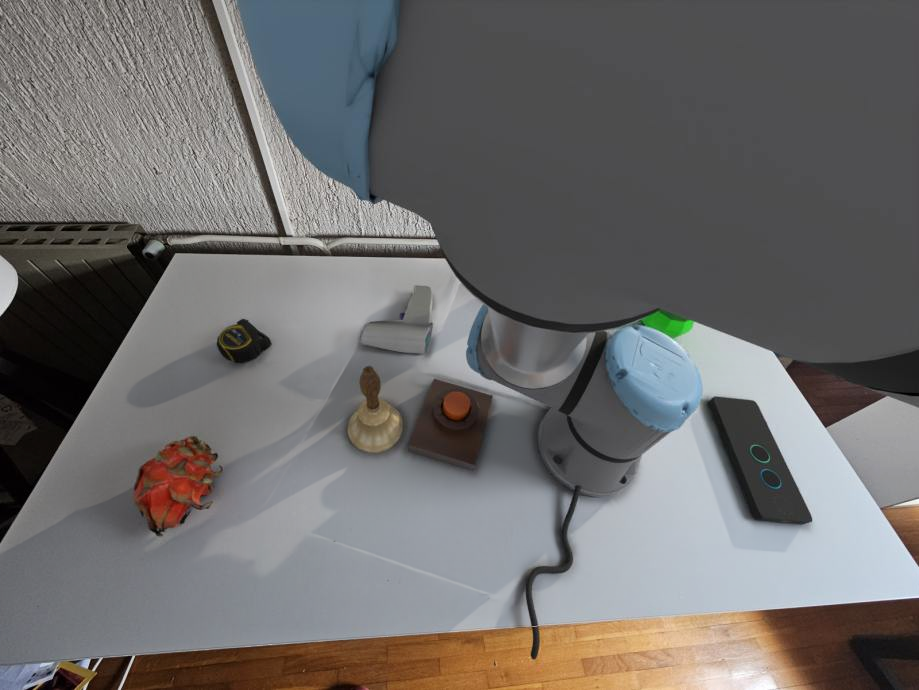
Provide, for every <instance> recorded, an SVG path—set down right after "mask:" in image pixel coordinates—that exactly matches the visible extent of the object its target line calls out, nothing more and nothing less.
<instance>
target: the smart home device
mask: <svg viewBox="0 0 919 690" xmlns="http://www.w3.org/2000/svg"><path fill="white" fill-rule="evenodd" d="M707 404H708V407H709V410H710V412H711V415H712V418H713V420H714V422H715V425H716V428H717V430H718V432H719V435H720V439H721V440H722V443H723V445H724V448H725V451H726V453H727V456H728V459H729V461H730V463H731V466H732V468H733V472H734V473H735V477H736V479H737V481H738V483H739V486H740V489H741V491H742V494H743V497H744V499H745V501H746V504H747V507H748V509H749V512H750V514H751V516H752V518H753V519H754V520H756V521H760V522H769V523H779V524H780V523H781V524H790V525H791V524H792V525H802V526H803V525H806V524H809V523H813V517H812V516H813V515H812V514H811V512H810V510H809V508H808V505H807V503H806V502H805V499H804V497H803V495H802V493H801V491H800V489H799V486H798V485H797V482H796V480H795V479H794V476H793V474H792V472H791V470H790V468H789V466H788V464H787V462H786V460H785V458H784V456H783V454H782V451H781V450H780V448H779V446H778V443H777V441H776V438H775V437H774V434H773V433H772V431H771V429H770V428H769V425H768V423H767V420H766V419H765V417H764V415H763V413H762V410H761V408H760V406H759V405H758V403H757V402H756V401H755V400H754V399H746V398H745V399H744V398H735V397H726V396H716V395H715V396H713V397H712V398H710V399H709V400H708V402H707Z"/></svg>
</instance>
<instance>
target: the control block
mask: <svg viewBox="0 0 919 690" xmlns="http://www.w3.org/2000/svg"><path fill="white" fill-rule="evenodd" d="M451 392H461V393H464V394H465V395H466V396H467V397H468V398H469V400H470V409H469V413H468V415H467V416H466V417H465V418H464V419H462V420H459V421H454V420H451V419H449V418H447V417H446V416H445V414H444V412H443V402H444V398H445V397H446V395H448V394H449V393H451ZM493 398H494V395H492V394H489V393H486V392H482V391H479V390H475V389H473V388H468V387H466V386H465V387H464V386H461V385H458V384H455V383H451V382H449V381H444V380H441V379H438V378H433V380H432V382H431V384H430V388H429V390H428V393H427V395H426V398H425V400H424V404H423V406H422V407H421V410H420V413H419V416H418V418H417V421H416V424H415V427H414V429H413V432H412V434H411V437H410V439H409V443H408V451H409V452H411V453H415V454H418V455H421V456H425V457H427V458H432V459H434V460H437V461H440V462H443V463H447V464H451V465H454V466H457V467H461V468H464V469H466V470H470V471H474V470H475V467H476V464H477V461H478V457H479V453H480V448H481V445H482V441H483V437H484V433H485V430H486V429H485V428H486V425H487V420H488V417H489V413H490V410H491V405H492V402H493Z"/></svg>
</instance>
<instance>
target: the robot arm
mask: <svg viewBox="0 0 919 690" xmlns="http://www.w3.org/2000/svg"><path fill="white" fill-rule="evenodd" d="M235 1H236V5H237V9H238V13H239V17H240V21H241V24H242V25H241V26H242V28H243V32H244V35H245V38H246V39H245V40H246V43H247V45H248V49H249V52H250V55H251V58H252V62H253V64H254V67H255V71H256V74H257V75H258V79H259V80H260V83H261V85H262V87H263V90H264V93H265V94H266V97H267V99H268V101H269V103H270V105H271V108H272V109H273V112H274V114H275V115H276V117H277V119H278V121H279V122H280V125H281V126H282V128H283V130H284V132H285V133H286V135H287V137H288V138H289V139H290V140H291V142H292V144H293V145H294V146H295V147H296V149H297V150H298V151H299V152H300V154H301V155H302V156H303V157H304V158H305V159H306V160H307V161H308V162H309V163H310V164H311V165H312V166H313V167H314V168H315V169H316V170H318V171H319V172H321V174H323V175H325V176H326V177H328V178H329V179H332V180H334V181H336V182H337V183H339V184H342V185H343V186H345V187H347V188H349V189H351V190H352V191H353V193H354V194H355V196H356V197H357V198H358V199H359V200H360V201H366V202H369V203H371V205H376V204H379V203H381V202H382V201H385V202H387V203H390V204H392V205H394V206H397V207H398V208H402V209H404V210H406V211H408V212H411V213H413V214H415V215H416V216H418V217H420V218H421V219H423V220H425V221H426V222H427V223H429V224H430V227H431V229H432V232H433V234H434V237H435V239H436V241H437V243H438V246H439V248H440V251H441V253H442V256H443V258H444V259H445V261H446V263H447V264H448V266H449V268H450V269H451V271H452V273H453V274H454V276H455V277H456V279H457V280H458V281H459V282H460V284H461V285H462V287H464V288H465V289H466V290H467V292H468V293H470V294H471V295H472V296H473V297H474V298H475V299H476V300H477V301H478V302H479V303H481V304H482V305H481V307H480V309H479V310H478V312H477V313H476V316H475V319H474V321H473V322H472V324H471V327H470V330H469V334H468V338H467V343H466V345H467V348H466V350H465V359H466V363H467V365H468V367H469V368H470V369H471V370H472V371H473V372H475V373H477V374H479V375H480V376H481V377H482V378H484V379H486V380H489V381H493V382H495V383H497V384H500V385H502V386H503V387H505V388H508V389H510V390H513V391H515V392H516V393H519V394H521V395H524V396H525V397H527V398H530V399H532V400H534V401H536V402H538V403H540V404H542V405H545V406H546V407H549V410H548V411H547V412H546V413H545V415H544V416H543V418H542V419H541V422H540V424H539V427H538V431H537V447H538V451H539V455H540V457H541V460H542V463H544V464H543V465H545V467H546V468H547V470H548V471H549V473H550V474H551V476H553V477H554V479H555V480H557V481H558V482H559V483H561V484H562V485H563V486H565V487H566V488H568V489H570V490H571V491H573V494H572V498H571V501H570V504H569V506H568V510H567V512H566V515H565V517H564V520H563V523H562V526H561V531H560V535H561V536H560V537H561V542H562V545H563V549H564V551H565V554H566V562H565V563H564V564H562V565H559V566H558V565H557V566H552V565H539V566H536V567H535V568H533V569H532V570H531V571H530V573H529V575H528V577H527V580H526V584H525V600H526V607H527V611H528V616H529V620H530V626H531V630H532V631H531V632H532V645H531V650H530V658H531V660H533V661H534V660H536V659H537V658H538V655H539V650H540V645H541V644H540V643H541V638H540V637H541V635H540V627H539V623H538V618H537V614H536V610H535V605H534V600H533V585H534V581H535V580H536V577H538V576H539V575H540V574H558V575H560V574H564V573H566V572H568V571H569V570H570V569H571V568H572V566H573V563H574V555H573V551H572V548H571V545H570V543H569V540H568V530H569V526H570V523H571V520H572V518H573V516H574V513H575V510H576V507H577V503H578V500H579V497H580V495H583V496H587V497H595V498H596V497H597V498H599V497H602V498H603V497H607V496H611V495H613V494H616V493H618V492H619V491H621V490H623V489H625V487H627V486H628V485H629V484H630V483H631V481H633V479H634V477H635V476H636V474H637V472H638V469H639V466H640V463H641V460H642V456H643V455H644V454H646V453H647V452H648V451H649V450H650V449H651V448H653V447H655V446H656V444H659V442H661V440H663V439H665V438H666V437H667V436H668V435H670V434H671V433H673V432H674V431H676V430H679V429H680V428H681V427H682V426H683V425H684V424H685V422H686V421H687V420H688V419H689V418H690V417H691V416H692V415H693V414H694V413H695V411H696V410H697V409H698V408H699V406H700V403H701V402H702V398H703V381H702V377H701V374H700V371H699V369H698V367H697V364H696V363H695V362H694V361H693V360H692V358H691V357H690V354H689V353H688V352H687V351H686V349H685V348H684V347H683V346H682V345H680V343H678V342H677V341H676V340H675V339H672V338H671V337H669V336H668V335H666V334H664V333H662V332H660V331H658V330H656V329H653V328H650V327H646V326H645V325H639V324H635V323H637V322H639V321H642V320H641V319H643V318H645V317H647V316H649V315H651V314H653V313H656V312H657V311H659V310H661V309H663V310H665V311H668V312H670V313H673V314H676V315H678V316H681V317H683V318H686V319H689V320H691V321H694V323H697V324H699V325H701V326H705V327H707V328H710V329H711V330H715V331H717V332H720V333H723V334H725V335H728V336H731V337H733V338H736V339H739V340H741V341H743V342H746V343H749V344H752V345H755V346H757V347H759V348H762V349H764V350H767V351H770V352H772V353H775V354H777V355H779V356H781V357H783V358H787V359H790V360H794V361H797V362H799V363H801V364H804V365H807V366H810V367H812V368H814V369H817V370H820V371H822V372H825V373H827V374H830V375H832V376H835V377H837V378H841V379H843V380H845V381H846V382H849V383H852V384H854V385H857V386H859V387H861V388H865V389H868V390H870V391H873V392H876V393H878V394H880V395H883V396H886V397H889V398H891V399H894V400H896V401H900V402H901V403H905V404H908V405H910V406H913V407H916V408H918V409H919V0H235ZM633 324H635V325H634V326H632V325H633ZM630 325H631V326H630ZM615 329H618V330H616V331H615V332H613V333H612V332H611V333H610V332H608V331H611V330H615ZM537 625H538V626H537ZM532 626H537V627H532Z"/></svg>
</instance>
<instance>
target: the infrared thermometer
mask: <svg viewBox="0 0 919 690" xmlns="http://www.w3.org/2000/svg"><path fill="white" fill-rule="evenodd" d="M432 310H433V291H432V288H431V287H430V286H427V285H418V284H417V285H416V284H415V285H413V293H412V295H411V297H410V299H409V301H408V304H407V308H406V310H405V312H400V313H399V319H391V320H390V319H389V320H374V321H373V320H372V321H369V322H367V323H366V324H365V325H364V326H363V328H362V330H361V333H360V336H359V342H360V343H361V345H364V346H370V347H374V348H378V349H384V350H388V351H394V352H398V353H407V354H421V355H425V354H426V353H427V351H428V348H429V345H430V342H431V337H432V332H433V327H434V322H432V320H433V315H432V312H433V311H432Z"/></svg>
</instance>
